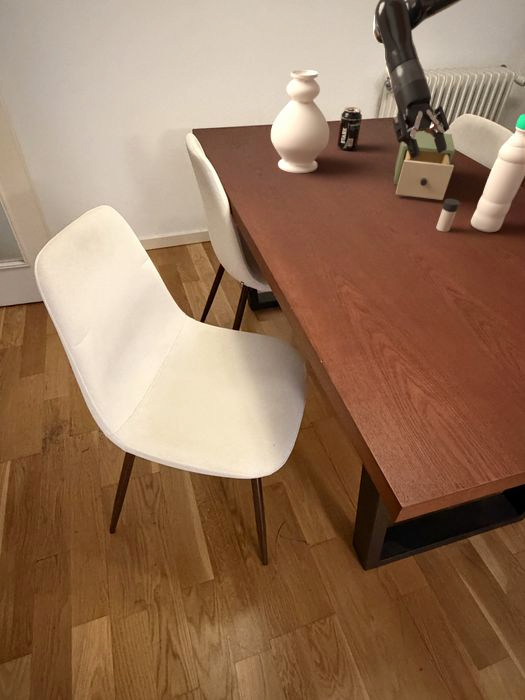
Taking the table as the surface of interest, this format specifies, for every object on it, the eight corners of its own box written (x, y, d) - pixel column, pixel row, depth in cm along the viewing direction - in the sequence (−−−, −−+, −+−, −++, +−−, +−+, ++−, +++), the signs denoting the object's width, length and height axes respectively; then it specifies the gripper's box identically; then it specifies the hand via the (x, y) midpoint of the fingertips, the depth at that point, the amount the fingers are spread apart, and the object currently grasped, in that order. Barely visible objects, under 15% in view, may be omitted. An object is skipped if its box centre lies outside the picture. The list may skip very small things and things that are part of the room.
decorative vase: (332, 161, 132) (344, 69, 114) (314, 180, 120) (324, 82, 103) (282, 152, 137) (286, 63, 119) (261, 170, 125) (261, 75, 108)
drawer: (442, 201, 109) (454, 168, 103) (395, 196, 111) (403, 162, 105) (440, 180, 119) (450, 149, 113) (397, 175, 121) (404, 144, 115)
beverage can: (336, 144, 143) (341, 106, 135) (355, 145, 143) (361, 106, 135) (337, 151, 138) (343, 112, 130) (357, 151, 138) (364, 112, 130)
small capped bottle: (446, 225, 101) (456, 198, 97) (451, 232, 99) (462, 204, 94) (433, 225, 101) (442, 198, 96) (438, 232, 99) (448, 204, 94)
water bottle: (499, 235, 98) (553, 122, 80) (469, 230, 100) (515, 118, 82) (499, 223, 103) (549, 113, 85) (469, 218, 104) (513, 109, 87)
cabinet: (442, 190, 117) (455, 150, 109) (393, 184, 119) (403, 145, 111) (439, 171, 127) (451, 134, 119) (395, 166, 129) (404, 129, 122)
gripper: (397, 79, 90) (418, 150, 91) (443, 74, 95) (463, 141, 96) (376, 101, 97) (396, 166, 98) (421, 95, 102) (439, 157, 103)
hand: (429, 154), depth 97 cm, fingers open, 8 cm apart
